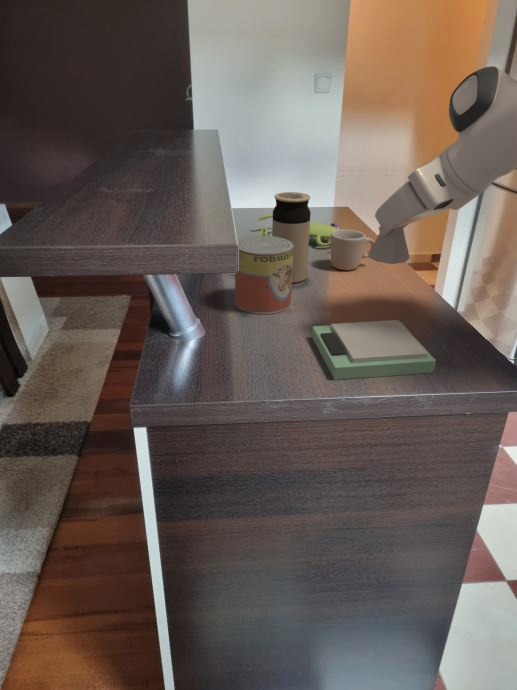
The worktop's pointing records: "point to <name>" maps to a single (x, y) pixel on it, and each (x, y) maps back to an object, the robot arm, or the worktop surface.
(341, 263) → the cup
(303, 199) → the travel mug
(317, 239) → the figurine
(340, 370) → the scale
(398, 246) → the flask
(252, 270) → the canned food
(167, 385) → the worktop surface
